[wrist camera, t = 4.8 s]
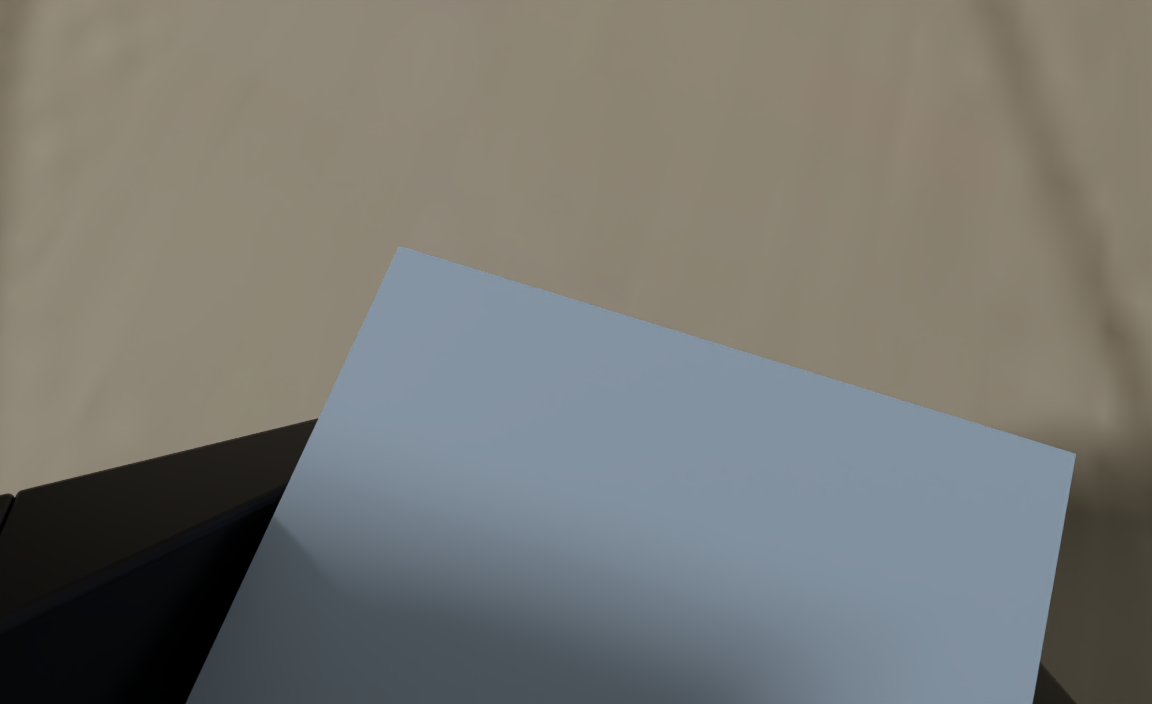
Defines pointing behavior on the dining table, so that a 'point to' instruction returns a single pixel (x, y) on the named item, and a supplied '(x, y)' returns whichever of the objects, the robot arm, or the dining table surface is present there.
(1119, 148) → the dining table surface
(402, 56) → the dining table surface
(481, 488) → the pillar block
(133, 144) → the dining table surface
